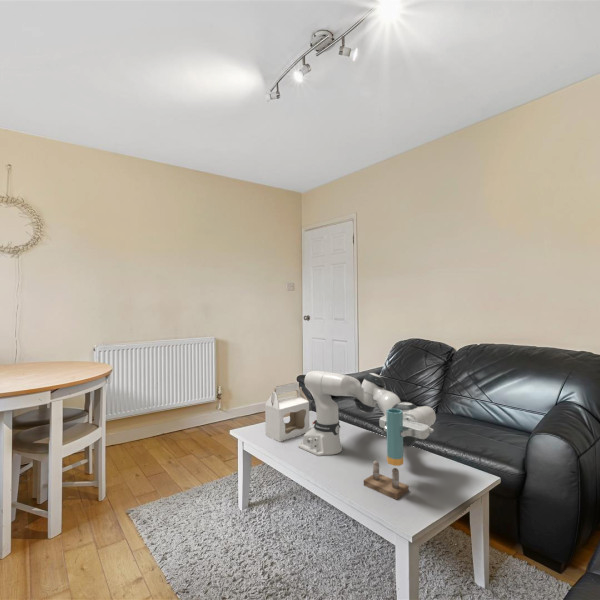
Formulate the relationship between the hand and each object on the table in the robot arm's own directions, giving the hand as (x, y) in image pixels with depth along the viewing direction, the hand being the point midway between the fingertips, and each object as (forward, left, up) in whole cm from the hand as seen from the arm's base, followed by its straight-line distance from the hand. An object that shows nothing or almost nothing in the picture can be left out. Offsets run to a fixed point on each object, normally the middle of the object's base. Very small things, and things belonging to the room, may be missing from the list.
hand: (393, 431), depth 137 cm
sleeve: (0, +1, -12) cm, 12 cm away
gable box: (-73, +25, -24) cm, 81 cm away
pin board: (-4, +2, -24) cm, 24 cm away
